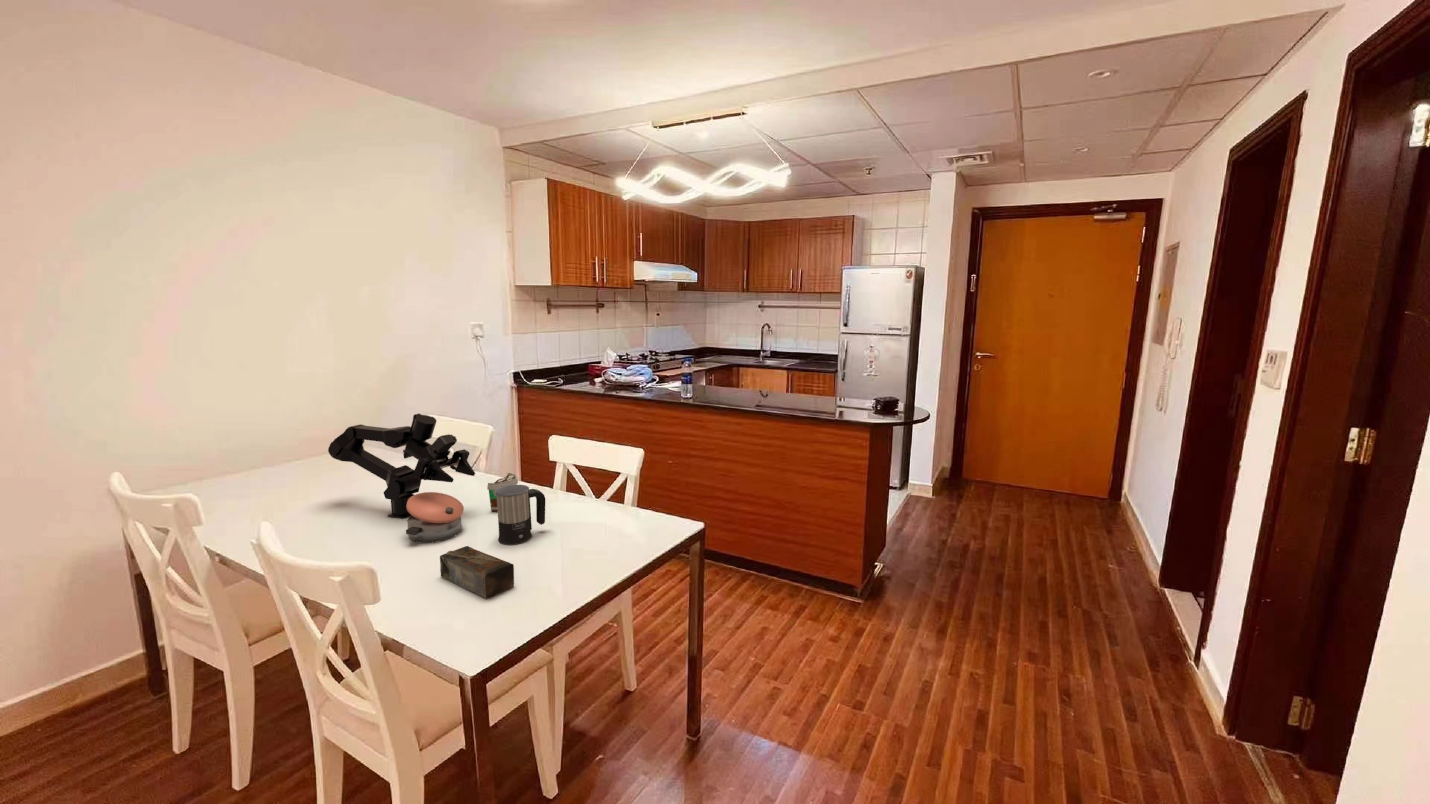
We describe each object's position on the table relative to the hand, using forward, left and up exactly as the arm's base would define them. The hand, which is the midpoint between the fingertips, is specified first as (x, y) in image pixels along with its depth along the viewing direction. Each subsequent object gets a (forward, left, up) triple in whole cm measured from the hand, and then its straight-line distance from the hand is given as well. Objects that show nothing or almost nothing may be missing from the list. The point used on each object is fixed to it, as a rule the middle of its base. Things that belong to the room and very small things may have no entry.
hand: (463, 477), depth 170 cm
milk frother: (+17, -2, -15) cm, 23 cm away
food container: (+3, +16, -15) cm, 22 cm away
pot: (-5, -8, -15) cm, 17 cm away
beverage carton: (+25, -30, -15) cm, 42 cm away
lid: (-4, -8, -7) cm, 11 cm away
